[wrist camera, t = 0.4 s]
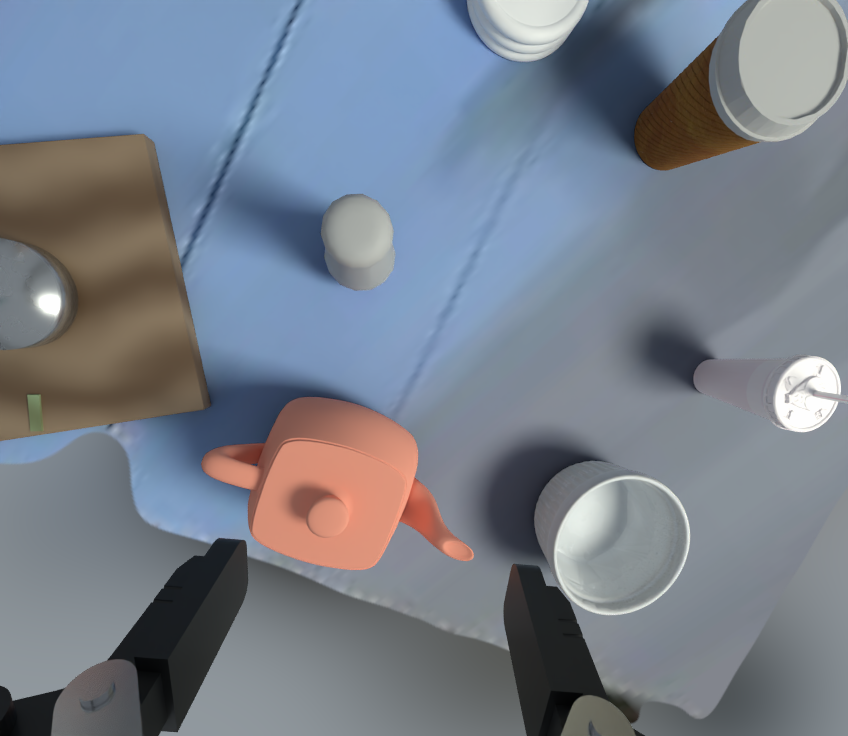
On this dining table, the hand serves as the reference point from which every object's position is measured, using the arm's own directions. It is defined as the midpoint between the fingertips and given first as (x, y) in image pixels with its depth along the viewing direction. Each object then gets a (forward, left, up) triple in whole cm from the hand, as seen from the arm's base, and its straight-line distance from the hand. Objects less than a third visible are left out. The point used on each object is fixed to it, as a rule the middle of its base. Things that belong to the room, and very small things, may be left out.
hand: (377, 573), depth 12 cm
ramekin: (+15, +20, -26) cm, 36 cm away
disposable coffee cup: (-21, +31, -26) cm, 45 cm away
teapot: (+5, -3, -26) cm, 27 cm away
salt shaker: (-13, +1, -26) cm, 29 cm away
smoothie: (+3, +35, -26) cm, 44 cm away
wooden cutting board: (-13, -25, -26) cm, 38 cm away
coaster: (-33, +18, -26) cm, 46 cm away
